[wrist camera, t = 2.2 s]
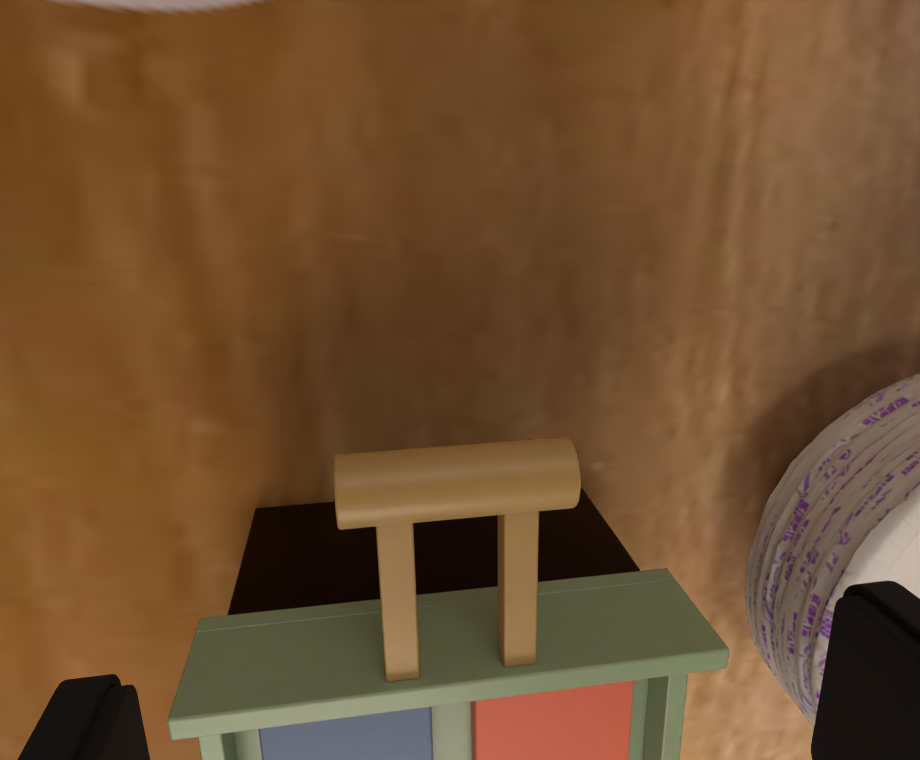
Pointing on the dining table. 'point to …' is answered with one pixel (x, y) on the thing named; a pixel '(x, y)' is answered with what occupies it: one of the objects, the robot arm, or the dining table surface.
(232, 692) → the green handled tray
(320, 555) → the stand
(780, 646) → the paper bowls
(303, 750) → the blue sachet
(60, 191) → the dining table surface
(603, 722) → the coral sachet
